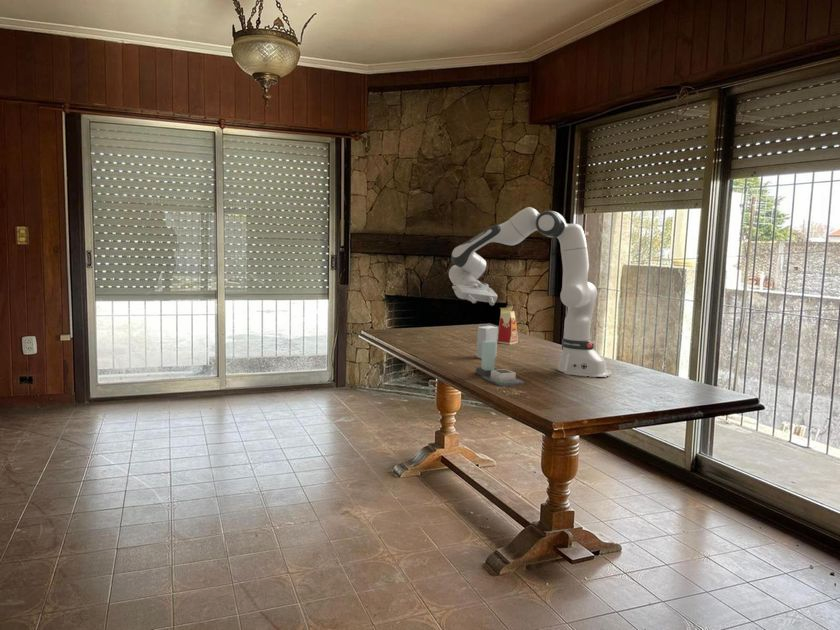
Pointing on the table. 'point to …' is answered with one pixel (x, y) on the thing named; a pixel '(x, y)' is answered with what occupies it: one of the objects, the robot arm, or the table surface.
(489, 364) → the plug
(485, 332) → the skincare box
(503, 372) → the port panel
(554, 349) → the table surface
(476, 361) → the table surface
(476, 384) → the table surface
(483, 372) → the holster
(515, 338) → the milk carton
